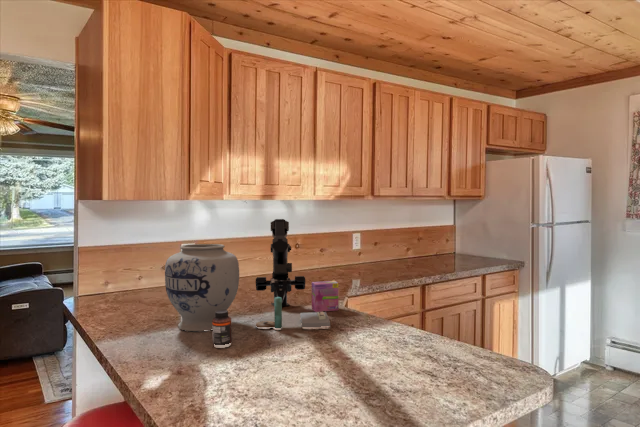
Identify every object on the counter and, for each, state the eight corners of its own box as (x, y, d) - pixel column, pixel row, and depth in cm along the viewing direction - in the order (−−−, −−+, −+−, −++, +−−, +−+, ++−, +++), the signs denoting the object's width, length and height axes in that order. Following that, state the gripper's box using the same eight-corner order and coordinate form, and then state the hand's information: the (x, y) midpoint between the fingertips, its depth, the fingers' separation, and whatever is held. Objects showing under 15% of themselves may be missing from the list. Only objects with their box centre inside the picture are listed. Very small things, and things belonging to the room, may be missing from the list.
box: (314, 312, 178) (314, 284, 177) (311, 309, 183) (311, 281, 183) (338, 310, 180) (338, 282, 180) (334, 307, 186) (334, 280, 185)
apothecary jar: (166, 319, 169) (164, 242, 168) (234, 312, 178) (233, 240, 177) (165, 340, 144) (163, 250, 143) (245, 331, 153) (244, 247, 152)
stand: (300, 319, 168) (300, 307, 168) (325, 318, 169) (325, 306, 169) (302, 330, 154) (302, 316, 154) (330, 329, 155) (330, 315, 155)
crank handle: (268, 323, 163) (267, 292, 163) (284, 329, 155) (284, 297, 155) (252, 326, 159) (251, 295, 158) (268, 333, 151) (268, 300, 150)
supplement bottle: (224, 341, 142) (223, 307, 142) (235, 345, 139) (235, 310, 138) (208, 346, 138) (208, 311, 137) (220, 350, 134) (220, 314, 133)
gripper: (255, 256, 163) (254, 291, 152) (304, 255, 164) (307, 290, 154) (256, 272, 171) (255, 307, 161) (303, 271, 173) (305, 306, 162)
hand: (280, 302), depth 159 cm, fingers closed
